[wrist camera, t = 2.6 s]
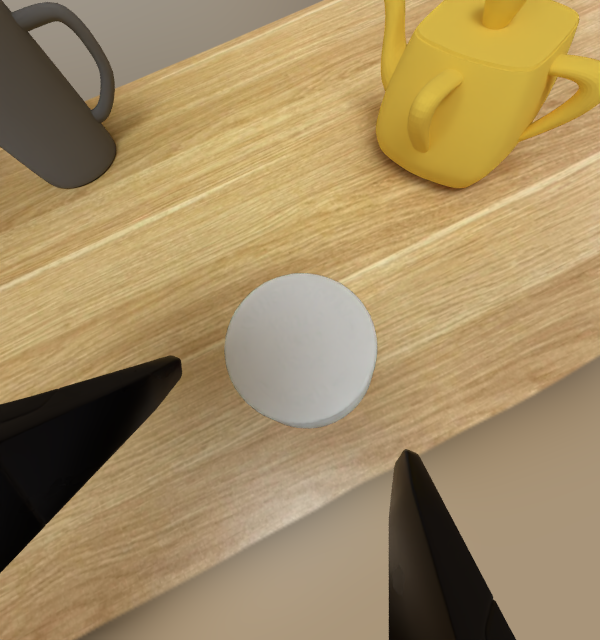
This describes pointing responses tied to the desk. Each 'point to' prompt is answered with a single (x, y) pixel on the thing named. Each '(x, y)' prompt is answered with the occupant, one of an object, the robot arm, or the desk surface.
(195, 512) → the desk surface
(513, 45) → the teapot
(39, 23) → the mug
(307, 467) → the desk surface
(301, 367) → the pill bottle
